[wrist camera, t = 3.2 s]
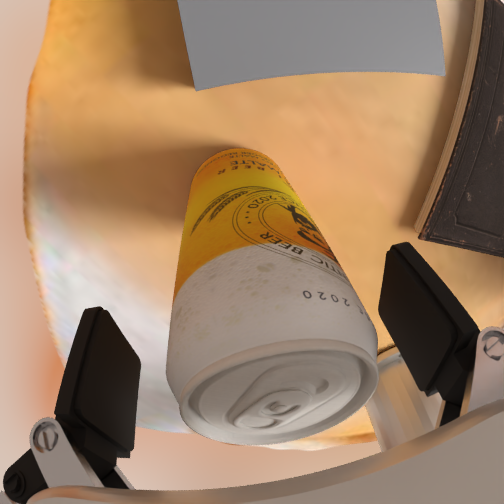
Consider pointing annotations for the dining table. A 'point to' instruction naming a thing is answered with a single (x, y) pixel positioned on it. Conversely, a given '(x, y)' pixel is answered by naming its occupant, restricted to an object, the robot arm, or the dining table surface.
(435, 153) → the dining table surface
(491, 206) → the hardcover book
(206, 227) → the beer can
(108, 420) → the robot arm
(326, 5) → the plate
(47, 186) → the dining table surface
